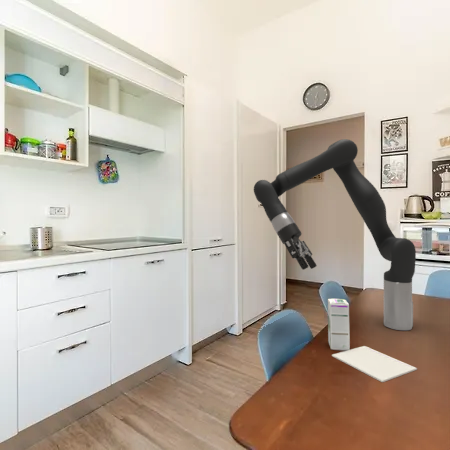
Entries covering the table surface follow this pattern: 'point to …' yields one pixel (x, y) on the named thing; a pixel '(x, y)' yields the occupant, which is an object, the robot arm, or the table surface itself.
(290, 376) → the table surface
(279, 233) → the robot arm
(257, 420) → the table surface
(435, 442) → the table surface
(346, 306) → the syrup box
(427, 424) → the table surface
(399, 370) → the off-white mat
